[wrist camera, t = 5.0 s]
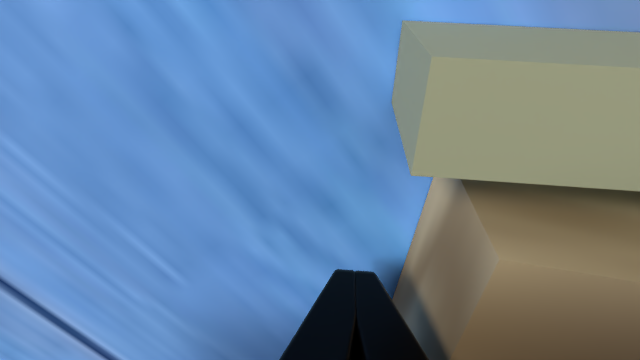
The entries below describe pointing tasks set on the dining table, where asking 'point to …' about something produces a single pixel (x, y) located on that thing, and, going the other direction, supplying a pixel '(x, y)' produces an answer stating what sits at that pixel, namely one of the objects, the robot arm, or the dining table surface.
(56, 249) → the dining table surface
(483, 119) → the sage slot bracket
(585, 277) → the maple bracket block
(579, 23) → the dining table surface
